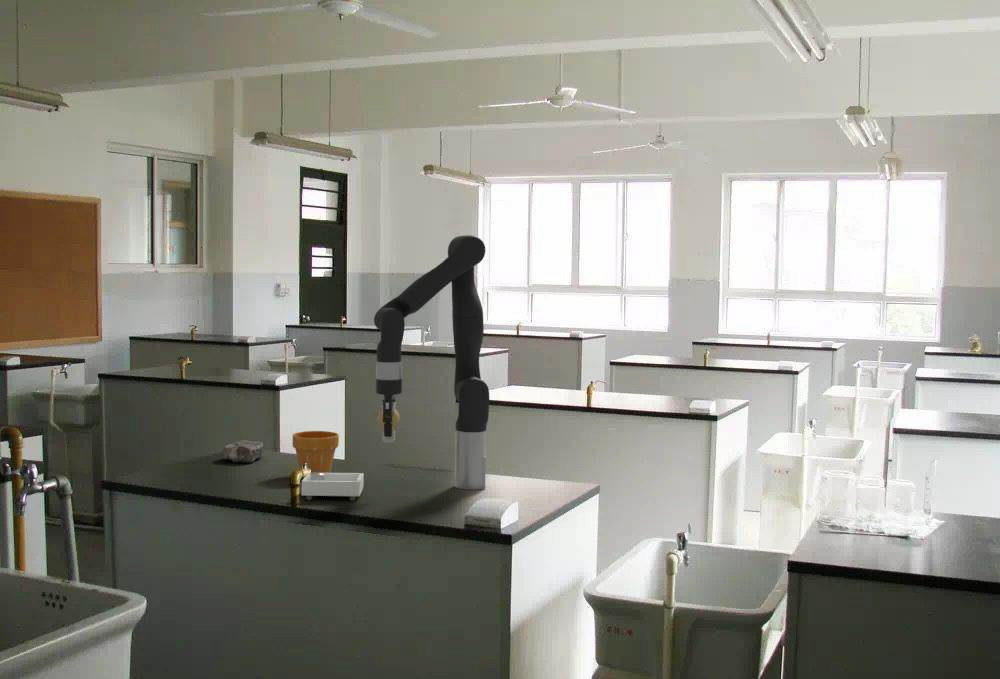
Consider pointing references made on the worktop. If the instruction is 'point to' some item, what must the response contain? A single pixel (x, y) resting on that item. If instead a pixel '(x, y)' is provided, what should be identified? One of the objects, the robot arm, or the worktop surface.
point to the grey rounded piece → (317, 476)
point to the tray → (334, 485)
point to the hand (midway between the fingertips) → (388, 434)
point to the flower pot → (316, 449)
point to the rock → (243, 451)
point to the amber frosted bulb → (395, 422)
